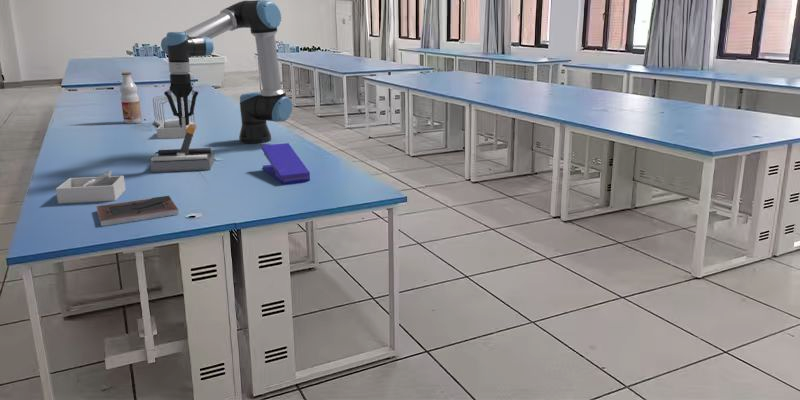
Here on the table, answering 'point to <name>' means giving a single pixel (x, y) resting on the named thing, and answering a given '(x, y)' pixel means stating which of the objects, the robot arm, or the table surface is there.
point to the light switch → (98, 179)
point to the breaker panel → (183, 163)
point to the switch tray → (90, 190)
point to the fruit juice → (130, 100)
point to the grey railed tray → (177, 158)
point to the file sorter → (159, 122)
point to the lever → (188, 138)
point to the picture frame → (136, 210)
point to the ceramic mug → (172, 124)
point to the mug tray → (170, 132)
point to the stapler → (285, 164)
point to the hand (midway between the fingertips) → (185, 133)
